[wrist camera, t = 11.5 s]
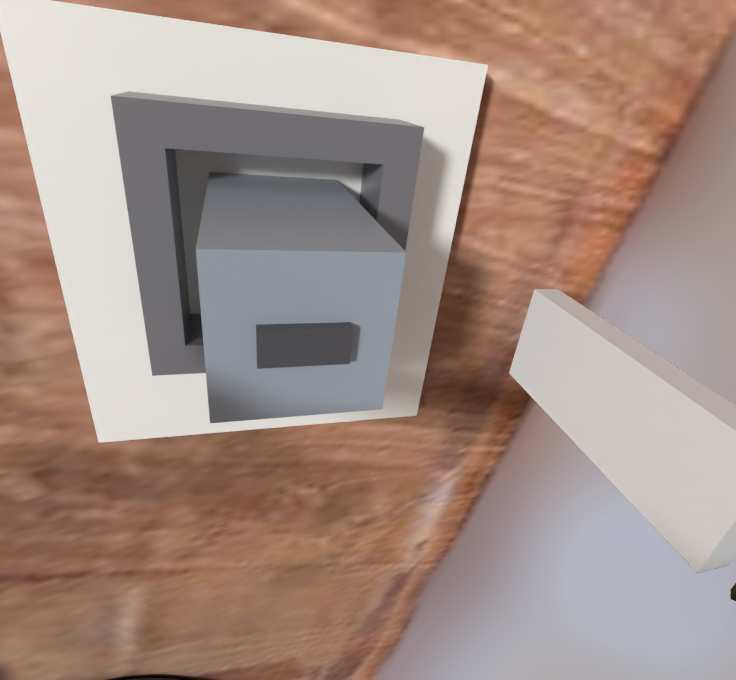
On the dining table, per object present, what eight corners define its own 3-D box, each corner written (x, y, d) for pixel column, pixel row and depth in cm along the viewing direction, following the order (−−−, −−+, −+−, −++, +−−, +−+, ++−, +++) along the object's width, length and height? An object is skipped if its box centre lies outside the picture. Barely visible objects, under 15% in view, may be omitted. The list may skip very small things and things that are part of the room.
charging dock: (410, 403, 25) (434, 448, 22) (103, 427, 21) (83, 486, 18) (475, 64, 17) (525, 64, 14) (5, -4, 13) (-58, -24, 10)
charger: (329, 290, 19) (385, 416, 12) (216, 291, 18) (209, 431, 11) (337, 179, 17) (410, 257, 10) (209, 171, 16) (195, 253, 9)
